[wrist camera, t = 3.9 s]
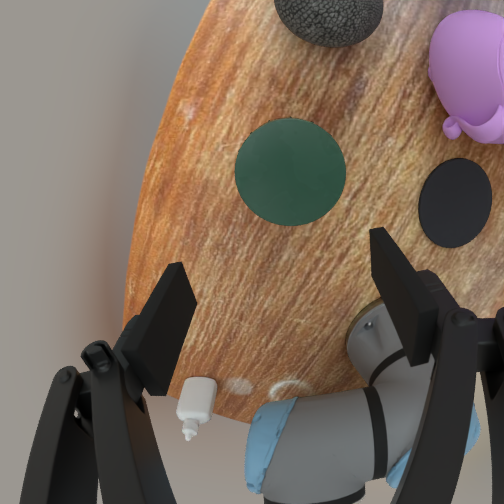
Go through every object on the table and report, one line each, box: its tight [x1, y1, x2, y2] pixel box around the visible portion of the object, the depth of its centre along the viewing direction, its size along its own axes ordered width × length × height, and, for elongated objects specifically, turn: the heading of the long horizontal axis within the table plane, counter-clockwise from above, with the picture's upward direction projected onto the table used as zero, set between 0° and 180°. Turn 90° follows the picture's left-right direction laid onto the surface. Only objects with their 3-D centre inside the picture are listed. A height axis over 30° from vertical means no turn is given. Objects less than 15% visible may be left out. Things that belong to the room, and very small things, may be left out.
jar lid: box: [235, 117, 346, 226], centre depth 23 cm, size 8×8×2 cm
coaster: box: [418, 158, 492, 248], centre depth 32 cm, size 12×12×1 cm
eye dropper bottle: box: [176, 377, 217, 441], centre depth 44 cm, size 4×6×12 cm
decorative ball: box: [274, 0, 383, 47], centre depth 20 cm, size 10×10×10 cm
